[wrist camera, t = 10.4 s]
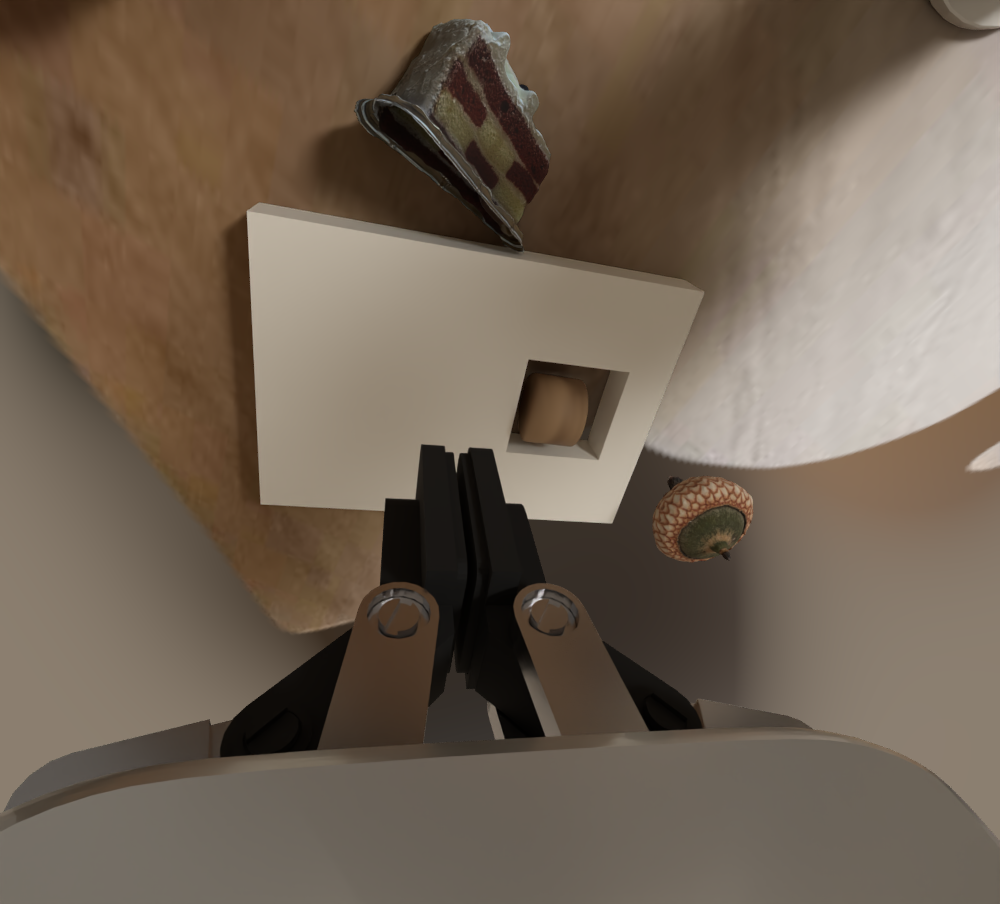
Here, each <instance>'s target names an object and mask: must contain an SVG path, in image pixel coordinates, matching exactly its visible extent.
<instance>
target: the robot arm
mask: <svg viewBox="0 0 1000 904" xmlns="http://www.w3.org/2000/svg"><path fill="white" fill-rule="evenodd" d="M930 2H931V4H932V6H933V7H934V8H935V9H936V10H937V12H938V13H939V14H940V15H941V16H942V17H943V18H944V19H945V20H947V21H948V22H950V23H952V24H954V25H955V26H957V27H960V28H965V29H970V30H984V29H996V28H1000V0H930ZM453 651H454V654H455V665H456V671H457V673H465V678H466V689H475V691H476V692H478V693H479V694H480V695H481V696H483V697H484V698H485V699H486V700H487V701H488V704H487V708H488V715H489V719H490V722H491V726H492V729H493V733H494V736H495V740H483V741H464V742H446V743H430V744H423V741H424V734H425V726H426V718H427V710H428V707H429V706H430V705H431V704H432V703H433V702H434V701H435V700H436V699H437V698H438V697H439V696H440V695H441V694H442V693H443V692H444V686H445V681H446V676H447V673H449V672H450V667H451V662H452V657H453ZM0 904H1000V840H999V839H998V838H997V837H996V836H995V835H994V833H993V832H992V831H991V830H990V829H989V828H988V827H987V825H986V824H985V823H984V822H983V821H982V820H981V819H980V818H979V816H978V815H977V814H976V813H975V812H974V811H973V810H972V809H971V808H970V807H969V806H968V804H967V803H966V802H965V801H964V800H963V799H962V798H961V797H960V796H959V795H958V794H956V792H955V791H954V790H953V789H952V788H950V786H949V785H947V784H946V783H945V782H944V781H943V780H942V779H940V778H939V777H938V776H937V775H936V774H935V773H933V772H932V771H930V770H928V769H927V768H926V767H924V766H923V765H921V764H919V763H918V762H916V761H914V760H912V759H910V758H908V757H906V756H904V755H902V754H900V753H898V752H895V751H893V750H891V749H888V748H885V747H883V746H880V745H877V744H874V743H871V742H868V741H865V740H862V739H859V738H856V737H852V736H847V735H842V734H838V733H833V732H828V731H822V730H814V729H812V728H811V727H809V726H808V725H806V724H805V723H803V722H802V721H800V720H798V719H795V718H792V717H789V716H786V715H780V714H775V713H770V712H765V711H760V710H755V709H749V708H744V707H739V706H734V705H729V704H724V703H719V702H713V701H708V700H703V699H697V701H696V703H695V704H694V703H690V702H689V701H688V700H687V699H686V698H685V697H684V696H683V695H681V694H680V693H679V692H678V691H677V690H675V689H674V688H672V687H671V686H669V685H668V684H666V683H665V682H663V681H662V680H660V679H659V678H657V677H656V676H654V675H653V674H651V673H650V672H648V671H647V670H645V669H644V668H642V667H641V666H639V665H638V664H636V663H635V662H633V661H632V660H630V659H629V658H627V657H626V656H625V655H623V654H622V653H620V652H619V651H617V650H615V649H614V648H613V647H611V646H609V645H608V644H607V643H605V642H604V641H602V640H601V639H600V637H599V635H598V633H597V631H596V629H595V627H594V625H593V623H592V621H591V619H590V617H589V616H588V614H587V612H586V610H585V608H584V607H583V605H582V604H581V602H580V601H579V600H578V598H577V597H575V596H574V595H573V594H572V593H571V592H569V591H567V590H566V589H564V588H562V587H560V586H556V585H552V584H547V583H546V581H545V577H544V574H543V570H542V567H541V564H540V560H539V556H538V553H537V549H536V546H535V542H534V539H533V535H532V532H531V528H530V525H529V522H528V518H527V514H526V511H525V508H524V506H523V505H522V504H515V503H506V502H505V498H504V494H503V490H502V486H501V481H500V477H499V473H498V469H497V465H496V461H495V457H494V452H493V449H488V448H472V447H469V449H468V452H467V453H460V454H459V459H458V465H457V472H456V468H455V460H454V453H453V452H446V451H445V446H441V445H425V444H421V449H420V458H419V468H418V477H417V487H416V497H415V499H394V498H385V511H384V527H383V543H382V559H381V576H380V586H379V587H377V588H375V589H373V590H371V591H370V592H369V593H368V594H367V595H366V596H365V597H364V598H363V600H362V602H361V604H360V606H359V609H358V612H357V615H356V619H355V622H354V626H353V627H352V628H351V629H350V630H349V631H347V632H346V633H344V634H343V635H342V636H340V637H339V638H338V639H336V640H335V641H334V642H332V643H331V644H330V645H328V646H327V647H326V648H324V649H323V650H322V651H320V652H319V653H317V654H316V655H315V656H313V657H312V658H311V659H310V660H308V661H307V662H305V663H304V664H303V665H301V666H300V667H299V668H297V669H296V670H295V671H293V672H292V673H291V674H289V675H288V676H287V677H285V678H284V679H282V680H281V681H280V682H279V683H277V684H276V685H274V686H273V687H272V688H271V689H269V690H268V691H266V692H265V693H264V694H262V695H261V696H260V697H258V698H257V699H256V700H255V701H253V702H252V703H250V704H249V705H248V706H246V707H245V708H244V709H243V710H242V711H241V712H240V713H239V714H238V715H237V716H235V717H234V718H233V720H230V721H226V722H222V723H218V724H214V725H211V723H210V720H205V721H200V722H196V723H192V724H188V725H184V726H180V727H176V728H172V729H168V730H164V731H160V732H156V733H152V734H148V735H144V736H139V737H135V738H132V739H127V740H123V741H119V742H115V743H111V744H107V745H103V746H99V747H95V748H90V749H86V750H83V751H78V752H74V753H71V754H68V755H65V756H63V757H60V758H58V759H55V760H52V761H50V762H49V763H47V764H46V765H44V766H43V767H41V768H40V769H39V770H37V771H35V772H34V773H32V774H31V775H30V776H29V777H28V778H27V779H26V780H25V781H24V782H23V783H22V784H21V785H20V786H19V787H18V788H17V789H16V790H15V792H14V793H13V794H12V796H11V798H10V800H9V802H8V804H7V806H6V808H5V810H4V811H3V812H2V813H0Z"/></svg>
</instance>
